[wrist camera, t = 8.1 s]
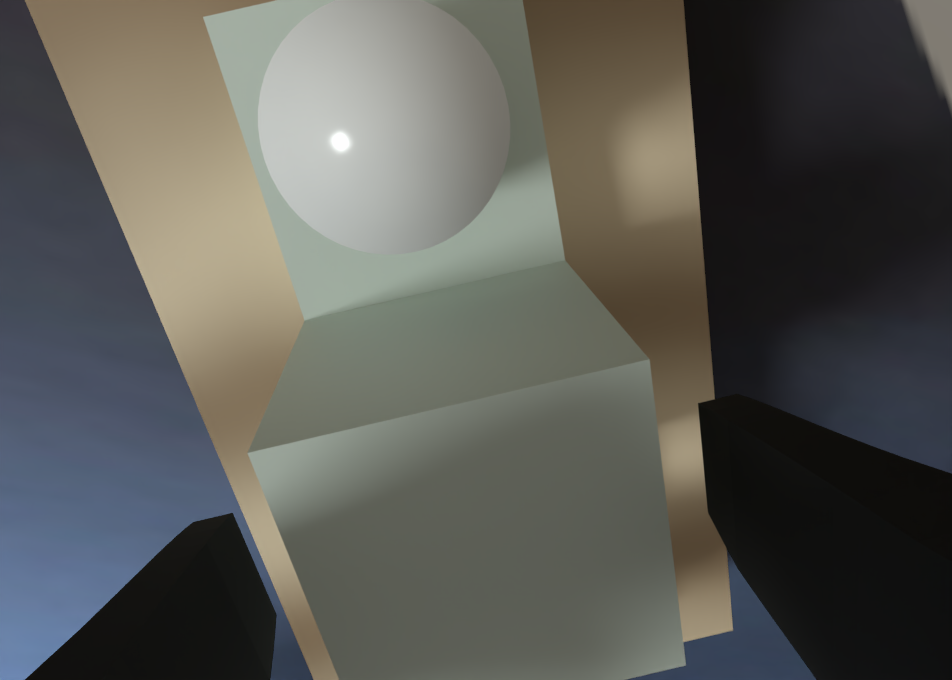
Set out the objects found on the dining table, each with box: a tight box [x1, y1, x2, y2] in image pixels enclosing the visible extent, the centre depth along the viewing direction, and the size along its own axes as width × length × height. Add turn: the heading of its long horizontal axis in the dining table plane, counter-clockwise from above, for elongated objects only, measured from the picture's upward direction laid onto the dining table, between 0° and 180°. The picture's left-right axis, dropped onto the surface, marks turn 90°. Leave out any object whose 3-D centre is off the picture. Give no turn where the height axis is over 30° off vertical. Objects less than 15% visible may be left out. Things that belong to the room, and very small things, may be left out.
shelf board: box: [25, 0, 733, 680], centre depth 15 cm, size 18×11×2 cm, turn 12°
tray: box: [203, 0, 686, 680], centre depth 11 cm, size 15×5×6 cm, turn 12°
